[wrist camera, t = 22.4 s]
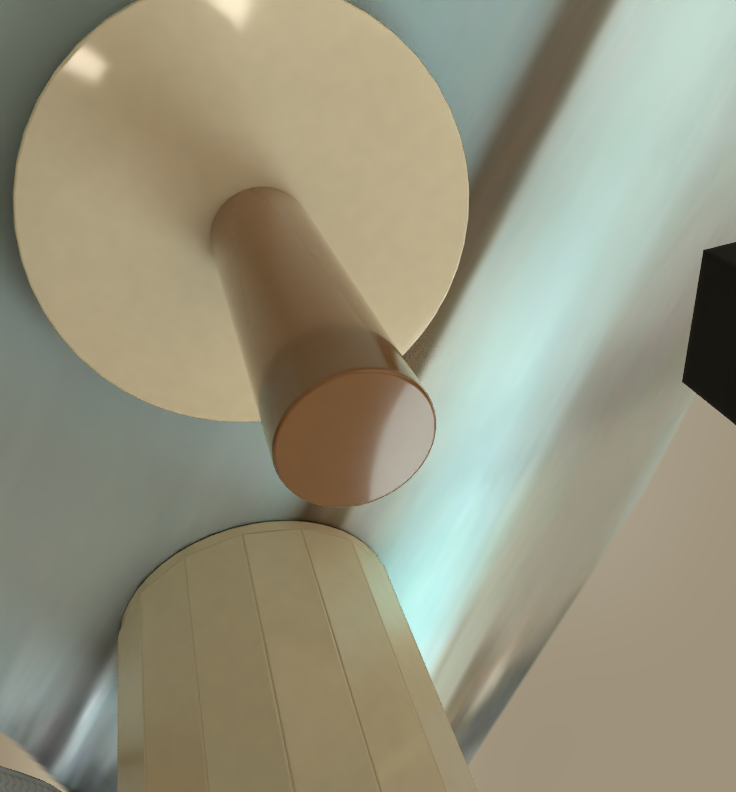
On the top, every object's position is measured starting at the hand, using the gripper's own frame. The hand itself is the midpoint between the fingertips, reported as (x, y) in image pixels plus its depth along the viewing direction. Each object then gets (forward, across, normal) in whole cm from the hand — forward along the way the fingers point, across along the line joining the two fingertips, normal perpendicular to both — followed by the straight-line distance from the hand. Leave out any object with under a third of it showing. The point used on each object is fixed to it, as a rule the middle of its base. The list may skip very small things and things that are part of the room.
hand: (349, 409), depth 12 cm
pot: (+9, -3, -15) cm, 18 cm away
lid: (+8, 0, 0) cm, 9 cm away
